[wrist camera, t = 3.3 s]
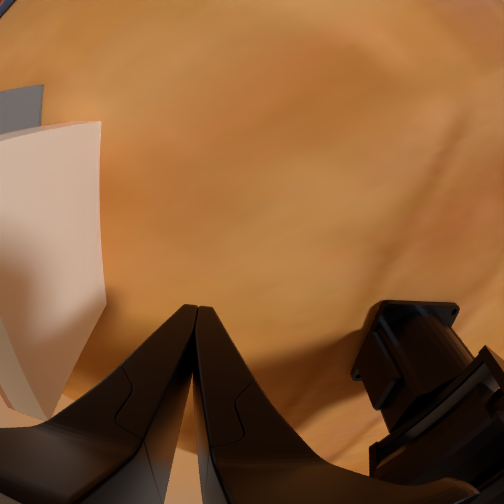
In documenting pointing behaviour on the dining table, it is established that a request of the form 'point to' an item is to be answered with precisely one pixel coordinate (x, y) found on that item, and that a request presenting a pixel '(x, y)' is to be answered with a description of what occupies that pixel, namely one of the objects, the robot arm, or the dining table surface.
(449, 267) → the dining table surface
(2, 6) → the medicine box
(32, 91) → the grey mat
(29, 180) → the tile
